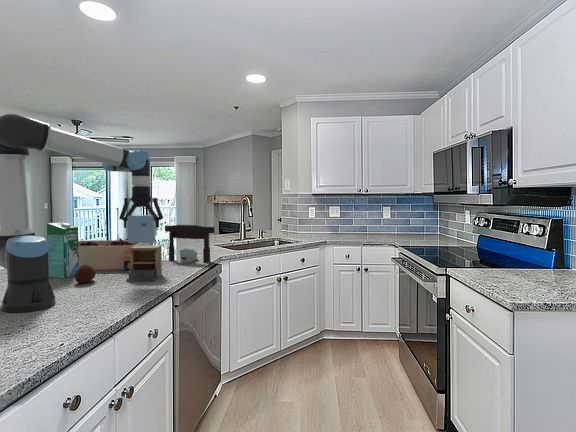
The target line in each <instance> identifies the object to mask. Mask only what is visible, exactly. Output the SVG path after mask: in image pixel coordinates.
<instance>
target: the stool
mask: <svg viewBox="0 0 576 432" xmlns="http://www.w3.org/2000/svg"><path fill="white" fill-rule="evenodd" d="M215 230H216V229H215V226H202V225H197V224H173V225H164V231H165V233H166V232H167V233H169V234H168V235H169V239H168V241H169V245H168V261H170V262H171V261H172V262H173V261H175V258H176V257H175V256H176V255H175V254H176V253H175V246H174V245H175V242H174V241H175V240H174V239H183V240H184V239H189V240H203V248H202V250H203V253H202V256H203V257H202V259H203V260H202V261H203V263H209V262H211V247H210V234H214V233H215ZM179 258H180V263H181V264H187V263H189V264H190V263H191V262H192V263H193V262H195V261H196V262H197V261H198V260H199V259H198V252H197V251H196V250H195V249H194V248H190V247H188V248H183V249H180V250H179Z"/></svg>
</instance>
